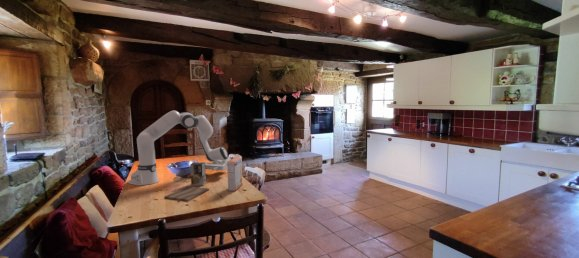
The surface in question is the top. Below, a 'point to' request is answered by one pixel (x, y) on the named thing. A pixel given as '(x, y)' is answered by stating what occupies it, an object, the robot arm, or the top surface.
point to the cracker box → (234, 174)
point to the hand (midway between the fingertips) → (207, 169)
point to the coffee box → (198, 174)
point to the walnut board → (187, 193)
